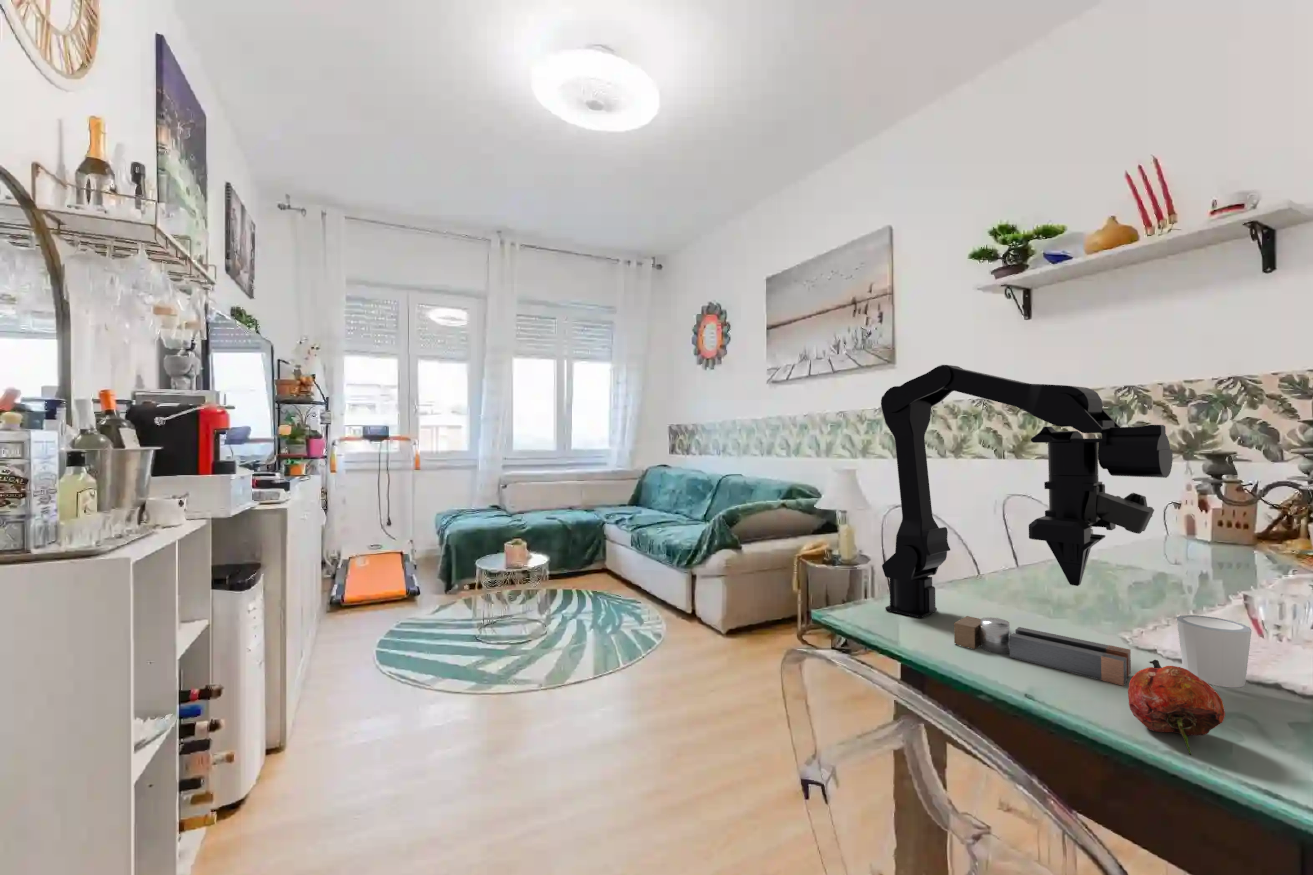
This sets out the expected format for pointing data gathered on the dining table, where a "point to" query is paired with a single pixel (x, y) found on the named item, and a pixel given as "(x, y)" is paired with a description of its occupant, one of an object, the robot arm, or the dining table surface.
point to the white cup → (1214, 649)
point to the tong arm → (1079, 644)
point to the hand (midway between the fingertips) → (1075, 585)
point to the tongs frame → (1039, 650)
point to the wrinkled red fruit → (1174, 701)
